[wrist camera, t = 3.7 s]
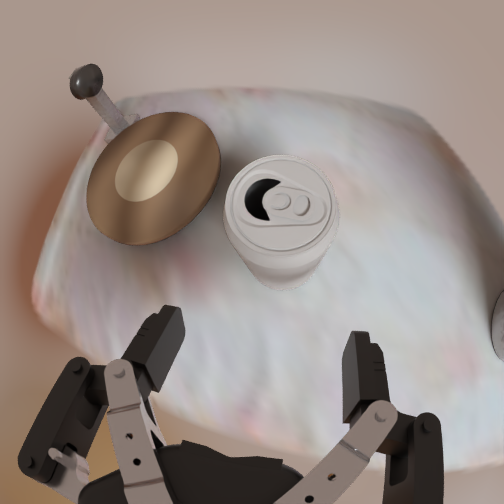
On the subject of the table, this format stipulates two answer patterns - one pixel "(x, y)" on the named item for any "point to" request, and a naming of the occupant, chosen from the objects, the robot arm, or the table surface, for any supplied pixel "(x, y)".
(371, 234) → the table surface
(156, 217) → the disc
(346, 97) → the table surface
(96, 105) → the stand
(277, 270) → the beverage can
